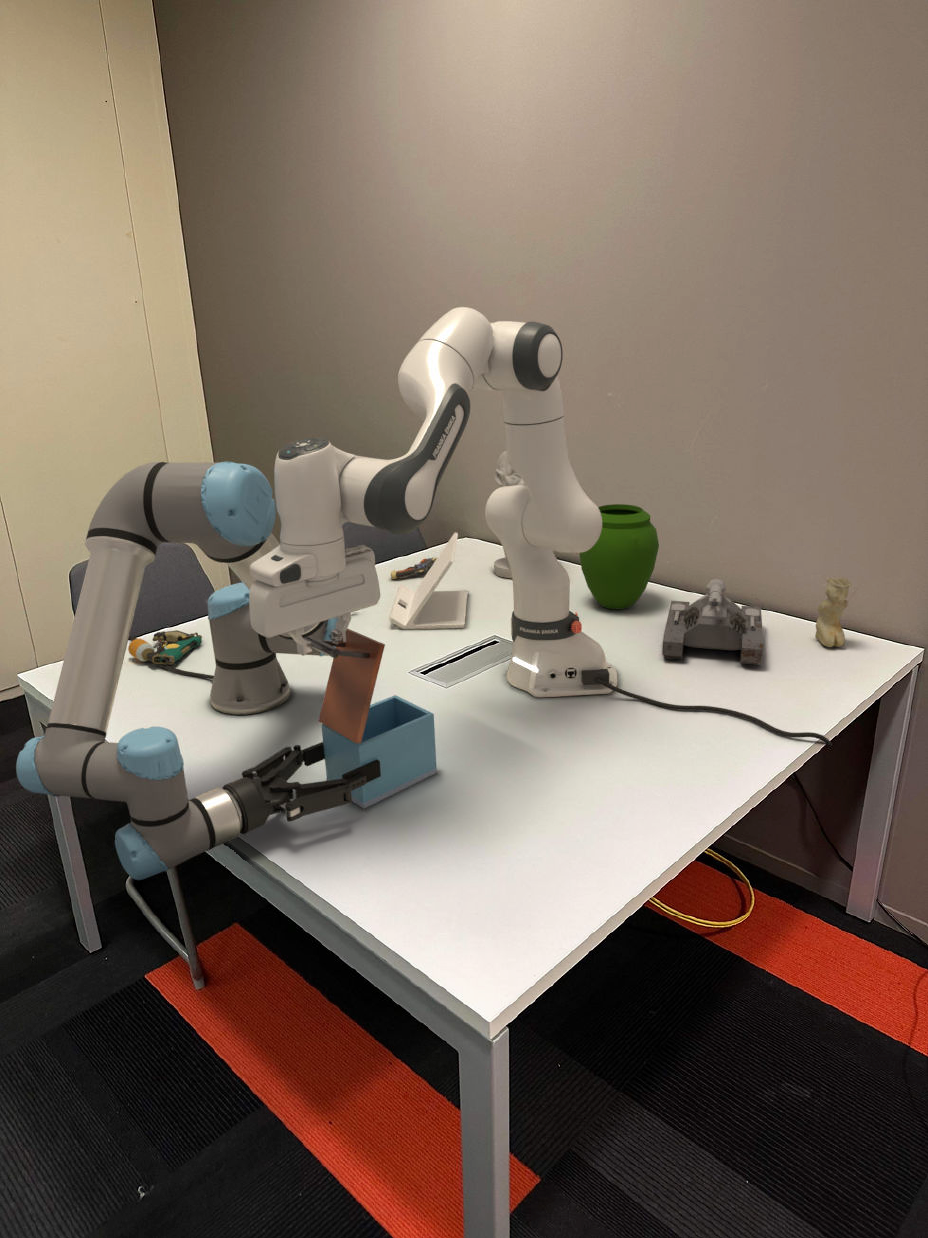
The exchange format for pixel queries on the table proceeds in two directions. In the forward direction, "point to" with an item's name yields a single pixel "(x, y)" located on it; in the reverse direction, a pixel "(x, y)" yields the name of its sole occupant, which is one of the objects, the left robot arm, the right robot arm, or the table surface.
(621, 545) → the vase
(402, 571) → the toy gun
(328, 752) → the chest
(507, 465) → the bust sculpture
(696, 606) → the toy
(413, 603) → the tablet stand
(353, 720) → the lid
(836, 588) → the sculpture
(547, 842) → the table surface
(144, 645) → the spray gun
